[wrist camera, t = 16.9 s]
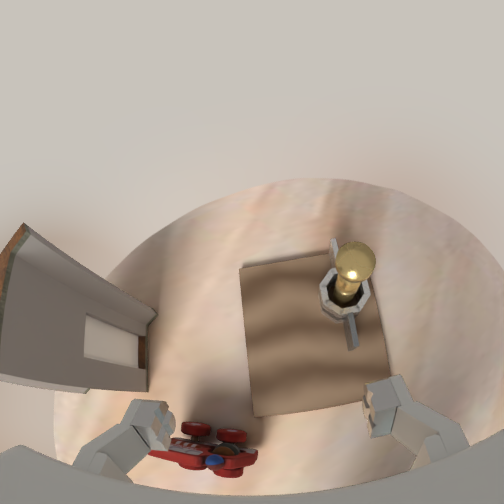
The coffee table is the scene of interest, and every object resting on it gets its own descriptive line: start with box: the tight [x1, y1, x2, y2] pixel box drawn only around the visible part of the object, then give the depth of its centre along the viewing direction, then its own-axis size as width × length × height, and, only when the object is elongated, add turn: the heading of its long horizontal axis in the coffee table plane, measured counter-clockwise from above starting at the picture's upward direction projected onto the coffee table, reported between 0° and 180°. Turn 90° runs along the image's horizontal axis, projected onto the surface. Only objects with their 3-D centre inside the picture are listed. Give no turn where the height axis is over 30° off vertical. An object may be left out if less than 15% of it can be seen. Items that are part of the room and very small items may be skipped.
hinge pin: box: [332, 242, 376, 308], centre depth 33 cm, size 4×4×14 cm
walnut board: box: [239, 253, 391, 417], centre depth 39 cm, size 22×19×1 cm
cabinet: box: [0, 223, 158, 394], centre depth 29 cm, size 21×10×28 cm, turn 137°
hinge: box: [318, 238, 371, 351], centre depth 37 cm, size 15×6×5 cm, turn 6°
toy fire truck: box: [148, 422, 258, 478], centre depth 30 cm, size 7×12×10 cm, turn 85°
